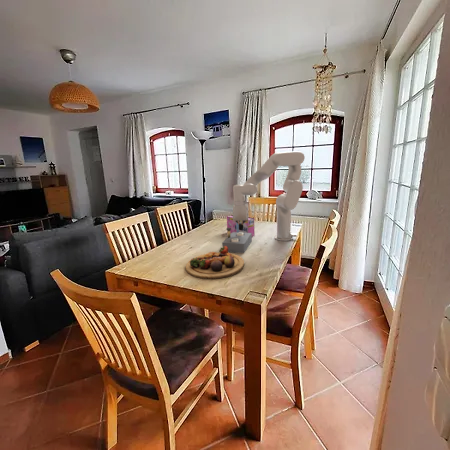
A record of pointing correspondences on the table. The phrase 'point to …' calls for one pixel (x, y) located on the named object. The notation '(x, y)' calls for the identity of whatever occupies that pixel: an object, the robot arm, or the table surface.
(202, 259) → the wooden plate with food
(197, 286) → the table surface
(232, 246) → the panel
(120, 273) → the table surface
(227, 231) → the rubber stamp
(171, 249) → the table surface
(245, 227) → the gum box
